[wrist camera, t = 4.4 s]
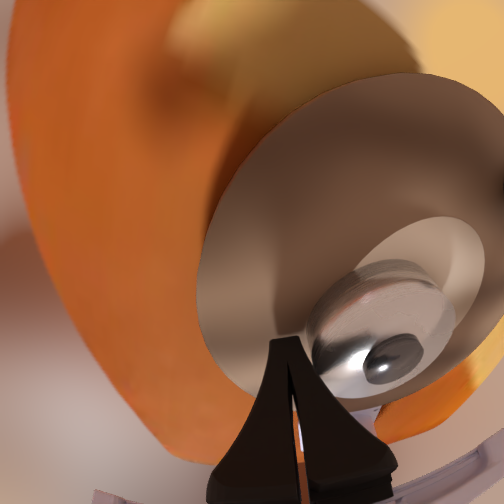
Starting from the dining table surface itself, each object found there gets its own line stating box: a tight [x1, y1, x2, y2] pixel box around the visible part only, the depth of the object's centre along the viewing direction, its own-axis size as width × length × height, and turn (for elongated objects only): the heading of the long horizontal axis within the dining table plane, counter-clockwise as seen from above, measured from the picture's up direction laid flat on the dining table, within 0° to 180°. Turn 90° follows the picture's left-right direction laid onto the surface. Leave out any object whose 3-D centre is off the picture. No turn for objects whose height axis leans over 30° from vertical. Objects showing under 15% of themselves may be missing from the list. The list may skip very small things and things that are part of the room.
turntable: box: [196, 73, 504, 412], centre depth 11 cm, size 22×22×4 cm
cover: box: [306, 259, 456, 398], centre depth 11 cm, size 7×7×3 cm
